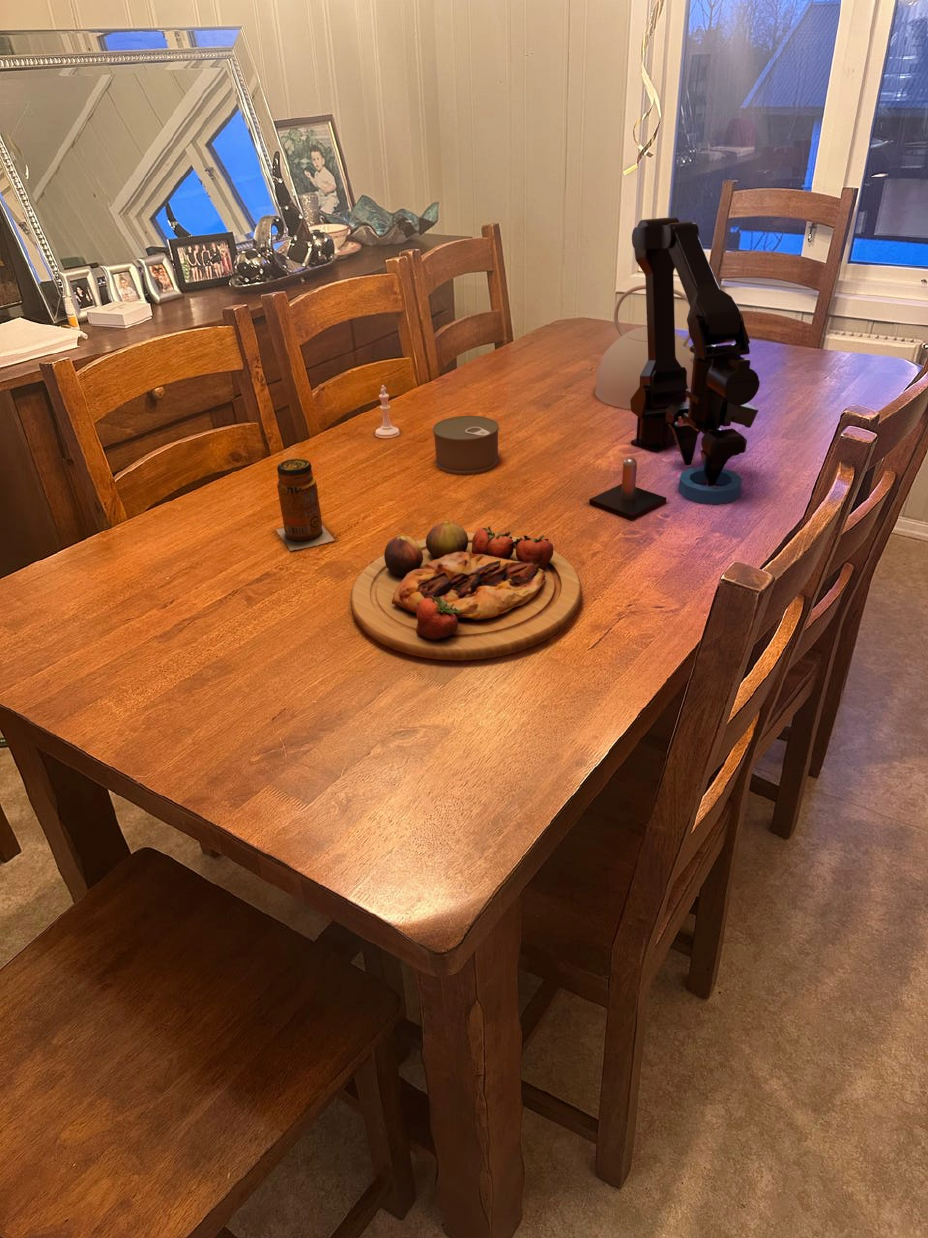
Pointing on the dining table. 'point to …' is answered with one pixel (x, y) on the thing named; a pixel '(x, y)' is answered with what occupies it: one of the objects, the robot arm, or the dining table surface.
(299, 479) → the condiment
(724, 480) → the blue ring
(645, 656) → the dining table surface
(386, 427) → the chess piece
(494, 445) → the can
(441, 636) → the wooden plate
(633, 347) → the kettle
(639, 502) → the peg stand
